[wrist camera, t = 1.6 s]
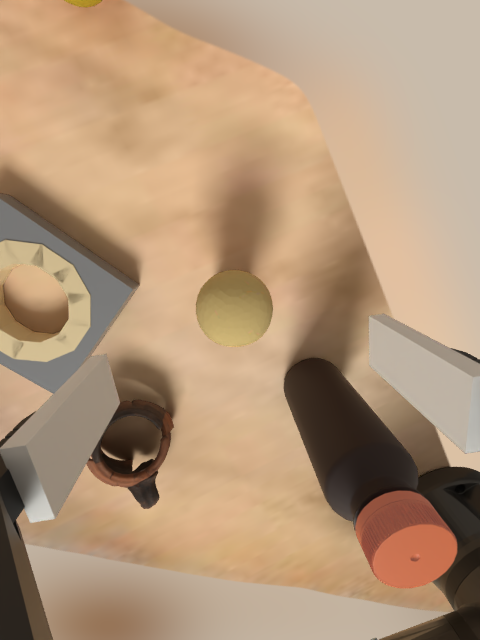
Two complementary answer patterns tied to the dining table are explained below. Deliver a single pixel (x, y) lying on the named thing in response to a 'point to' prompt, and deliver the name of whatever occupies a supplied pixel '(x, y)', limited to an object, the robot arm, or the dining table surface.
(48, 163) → the dining table surface
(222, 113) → the dining table surface
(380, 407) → the dining table surface
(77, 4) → the lemon
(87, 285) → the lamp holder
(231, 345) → the light bulb
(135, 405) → the pottery mug
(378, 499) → the bottle
